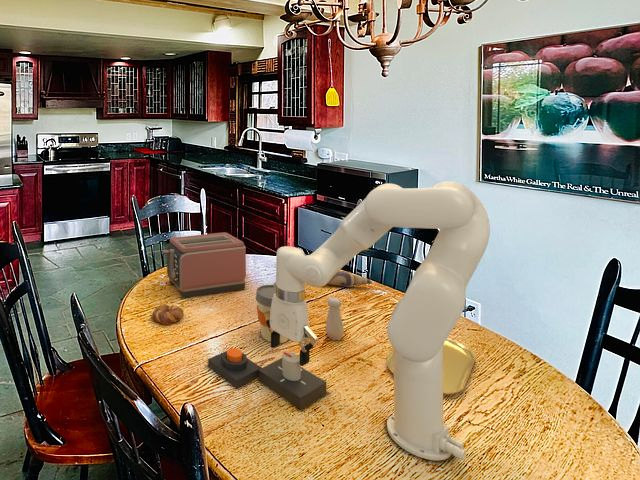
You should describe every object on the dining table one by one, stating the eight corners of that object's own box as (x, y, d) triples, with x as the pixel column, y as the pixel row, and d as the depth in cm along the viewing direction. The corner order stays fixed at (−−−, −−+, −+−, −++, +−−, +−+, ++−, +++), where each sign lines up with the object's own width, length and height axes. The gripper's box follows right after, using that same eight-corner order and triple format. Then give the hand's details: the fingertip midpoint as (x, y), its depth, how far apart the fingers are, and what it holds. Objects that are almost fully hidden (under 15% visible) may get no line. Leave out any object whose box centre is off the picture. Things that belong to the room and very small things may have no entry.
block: (261, 375, 114) (261, 361, 114) (236, 388, 108) (236, 373, 109) (232, 355, 124) (232, 342, 124) (208, 366, 118) (207, 352, 118)
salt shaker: (346, 342, 131) (345, 303, 131) (327, 340, 132) (327, 301, 132) (341, 333, 136) (341, 295, 137) (323, 331, 138) (323, 294, 138)
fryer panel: (326, 393, 106) (326, 381, 106) (300, 409, 100) (300, 397, 100) (284, 366, 118) (283, 356, 118) (258, 380, 112) (258, 369, 112)
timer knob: (304, 376, 108) (304, 357, 109) (293, 383, 106) (293, 363, 106) (290, 367, 112) (289, 349, 113) (278, 374, 110) (278, 354, 110)
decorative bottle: (309, 285, 177) (308, 270, 177) (308, 279, 184) (308, 264, 185) (373, 292, 169) (373, 277, 169) (370, 286, 176) (370, 271, 176)
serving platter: (377, 375, 114) (377, 370, 114) (411, 330, 138) (411, 326, 138) (458, 409, 100) (457, 402, 100) (479, 352, 124) (479, 347, 124)
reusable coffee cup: (298, 333, 137) (298, 289, 137) (288, 350, 126) (287, 303, 127) (263, 323, 144) (263, 281, 144) (250, 338, 134) (250, 294, 134)
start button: (245, 359, 116) (245, 353, 116) (234, 364, 113) (234, 358, 113) (234, 352, 119) (234, 346, 119) (223, 357, 117) (223, 351, 117)
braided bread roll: (178, 309, 155) (178, 300, 155) (187, 323, 144) (187, 312, 144) (148, 313, 152) (148, 303, 152) (155, 327, 141) (155, 317, 141)
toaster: (157, 283, 181) (156, 238, 181) (228, 273, 191) (227, 231, 192) (170, 301, 162) (170, 251, 162) (248, 289, 173) (248, 242, 173)
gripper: (256, 285, 115) (256, 344, 115) (308, 309, 100) (307, 376, 100) (274, 279, 119) (273, 336, 119) (326, 302, 104) (325, 366, 104)
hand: (289, 354), depth 110 cm, fingers open, 9 cm apart
